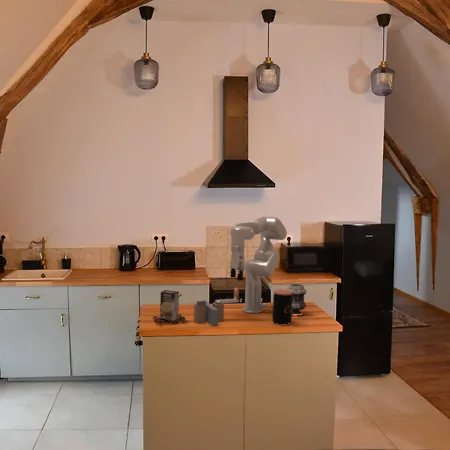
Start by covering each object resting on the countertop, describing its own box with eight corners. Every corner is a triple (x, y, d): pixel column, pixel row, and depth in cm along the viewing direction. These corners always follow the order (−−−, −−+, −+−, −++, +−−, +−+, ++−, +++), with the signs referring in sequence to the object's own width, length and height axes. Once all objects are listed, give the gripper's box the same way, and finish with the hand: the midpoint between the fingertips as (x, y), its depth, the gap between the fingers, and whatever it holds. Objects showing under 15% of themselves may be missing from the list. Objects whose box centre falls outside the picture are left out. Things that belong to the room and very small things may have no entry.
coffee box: (159, 320, 287) (159, 291, 285) (164, 317, 293) (164, 289, 291) (174, 322, 284) (174, 293, 282) (178, 319, 290) (179, 291, 288)
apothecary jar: (298, 310, 316) (300, 282, 314) (309, 315, 305) (310, 286, 303) (281, 312, 311) (282, 283, 309) (291, 317, 300) (293, 287, 298)
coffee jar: (286, 326, 281) (287, 294, 279) (268, 323, 287) (270, 291, 285) (294, 322, 290) (295, 291, 288) (277, 319, 296) (278, 288, 294)
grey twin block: (215, 315, 300) (216, 294, 299) (228, 324, 281) (229, 302, 280) (189, 317, 294) (190, 296, 293) (201, 327, 275) (201, 304, 274)
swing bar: (216, 303, 286) (216, 289, 286) (214, 302, 290) (214, 288, 289) (239, 302, 292) (239, 288, 291) (236, 300, 295) (237, 287, 294)
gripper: (250, 251, 283) (248, 281, 285) (237, 247, 299) (236, 275, 301) (237, 251, 281) (236, 282, 282) (225, 247, 296) (224, 276, 298)
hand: (236, 278), depth 291 cm, fingers open, 9 cm apart
